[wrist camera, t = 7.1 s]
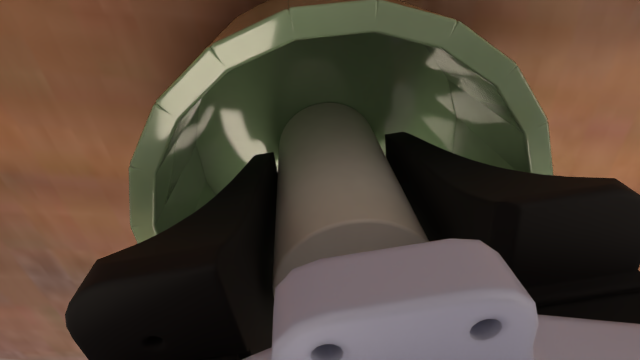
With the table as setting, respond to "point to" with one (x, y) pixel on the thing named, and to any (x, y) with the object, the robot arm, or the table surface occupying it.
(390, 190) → the white canister
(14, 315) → the table surface
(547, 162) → the holder
